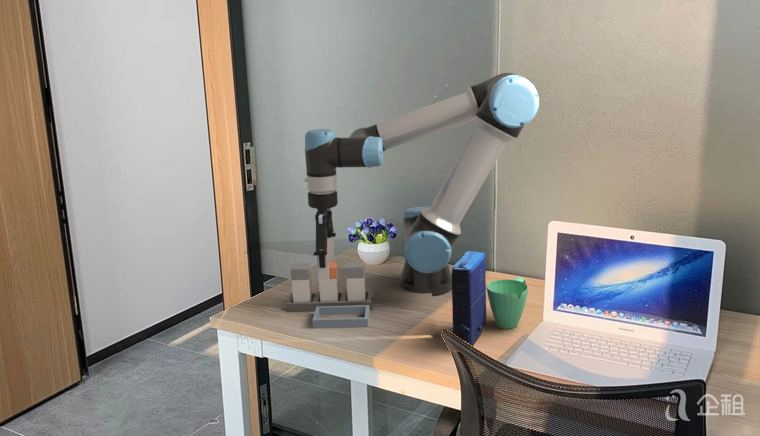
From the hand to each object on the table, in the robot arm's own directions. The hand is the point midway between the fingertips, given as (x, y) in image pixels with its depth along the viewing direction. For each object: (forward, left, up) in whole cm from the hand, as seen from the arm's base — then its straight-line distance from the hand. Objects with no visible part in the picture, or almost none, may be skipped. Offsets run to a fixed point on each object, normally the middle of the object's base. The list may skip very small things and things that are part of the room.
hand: (326, 269), depth 180 cm
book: (-35, +20, -11) cm, 42 cm away
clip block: (0, 0, -11) cm, 11 cm away
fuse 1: (+7, 0, -10) cm, 12 cm away
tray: (-4, +10, -11) cm, 16 cm away
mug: (-46, +11, -11) cm, 49 cm away
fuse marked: (0, 0, -10) cm, 10 cm away
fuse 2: (-8, 0, -10) cm, 12 cm away
